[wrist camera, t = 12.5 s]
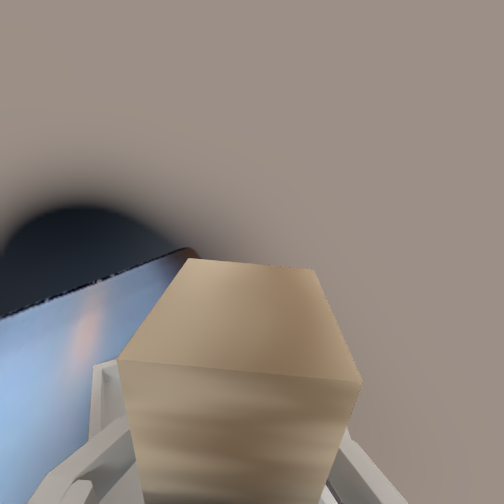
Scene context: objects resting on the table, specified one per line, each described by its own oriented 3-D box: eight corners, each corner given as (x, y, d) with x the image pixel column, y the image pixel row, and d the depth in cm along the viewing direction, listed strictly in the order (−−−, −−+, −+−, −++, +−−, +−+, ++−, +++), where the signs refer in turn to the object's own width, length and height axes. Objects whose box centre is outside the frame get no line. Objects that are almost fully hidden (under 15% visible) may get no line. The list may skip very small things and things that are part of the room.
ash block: (159, 581, 9) (116, 359, 5) (194, 440, 14) (188, 258, 9) (284, 594, 9) (363, 382, 5) (277, 448, 14) (313, 269, 9)
